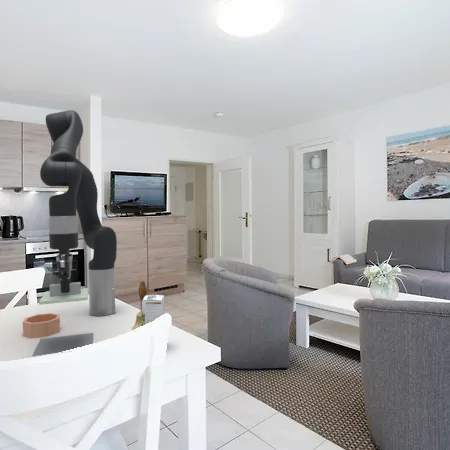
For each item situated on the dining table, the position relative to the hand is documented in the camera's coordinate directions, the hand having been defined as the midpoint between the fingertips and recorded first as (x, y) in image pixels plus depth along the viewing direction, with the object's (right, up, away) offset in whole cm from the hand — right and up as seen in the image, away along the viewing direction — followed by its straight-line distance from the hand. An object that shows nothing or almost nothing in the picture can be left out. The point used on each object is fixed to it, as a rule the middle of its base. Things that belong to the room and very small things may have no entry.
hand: (65, 291), depth 99 cm
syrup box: (+26, -16, -1) cm, 30 cm away
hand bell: (+19, -16, +14) cm, 28 cm away
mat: (0, -16, +1) cm, 16 cm away
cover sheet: (0, -2, 0) cm, 2 cm away
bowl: (-12, -16, +10) cm, 22 cm away
